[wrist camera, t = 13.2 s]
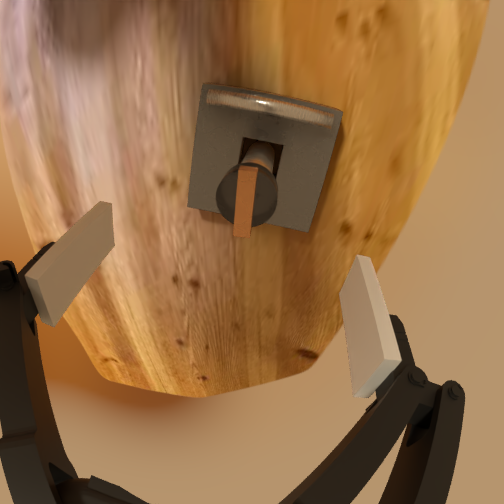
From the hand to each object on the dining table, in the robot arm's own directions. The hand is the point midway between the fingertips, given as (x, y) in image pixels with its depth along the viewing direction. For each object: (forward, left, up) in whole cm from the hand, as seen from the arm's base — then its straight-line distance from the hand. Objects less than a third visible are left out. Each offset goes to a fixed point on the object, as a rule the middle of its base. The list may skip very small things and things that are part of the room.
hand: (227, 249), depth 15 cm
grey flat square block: (0, 0, -20) cm, 20 cm away
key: (0, 0, -20) cm, 20 cm away
